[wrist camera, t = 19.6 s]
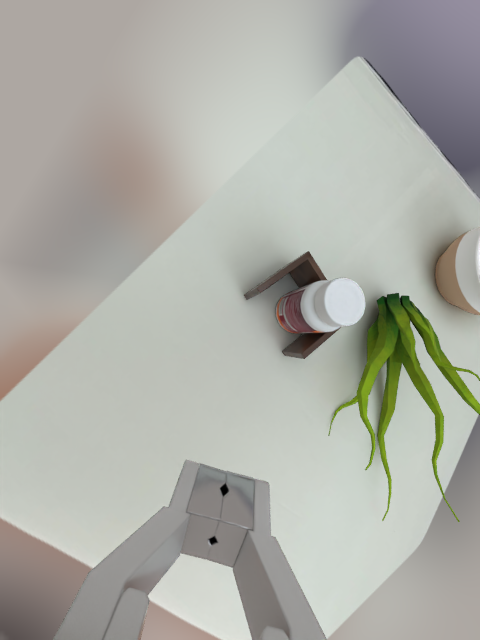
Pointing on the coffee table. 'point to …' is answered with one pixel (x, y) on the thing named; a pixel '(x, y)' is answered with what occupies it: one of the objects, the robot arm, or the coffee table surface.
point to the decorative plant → (399, 347)
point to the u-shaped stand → (303, 274)
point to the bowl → (461, 272)
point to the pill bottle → (321, 306)
